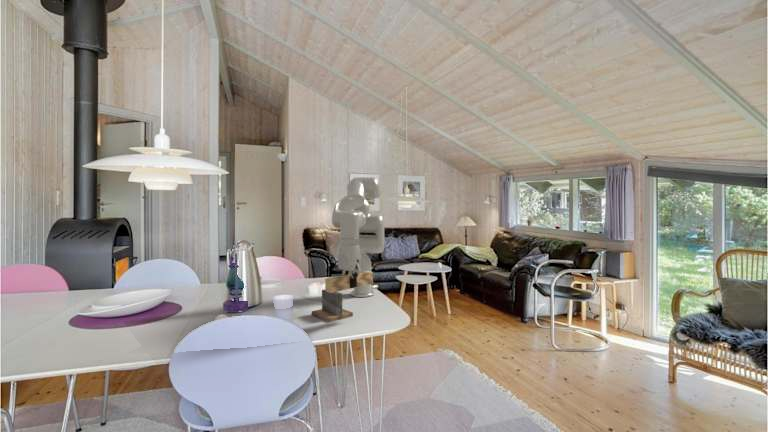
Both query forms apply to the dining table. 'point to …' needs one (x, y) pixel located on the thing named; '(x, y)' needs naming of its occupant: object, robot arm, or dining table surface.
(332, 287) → the oak bar
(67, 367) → the dining table surface
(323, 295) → the stand
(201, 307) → the dining table surface
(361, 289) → the robot arm
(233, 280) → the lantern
